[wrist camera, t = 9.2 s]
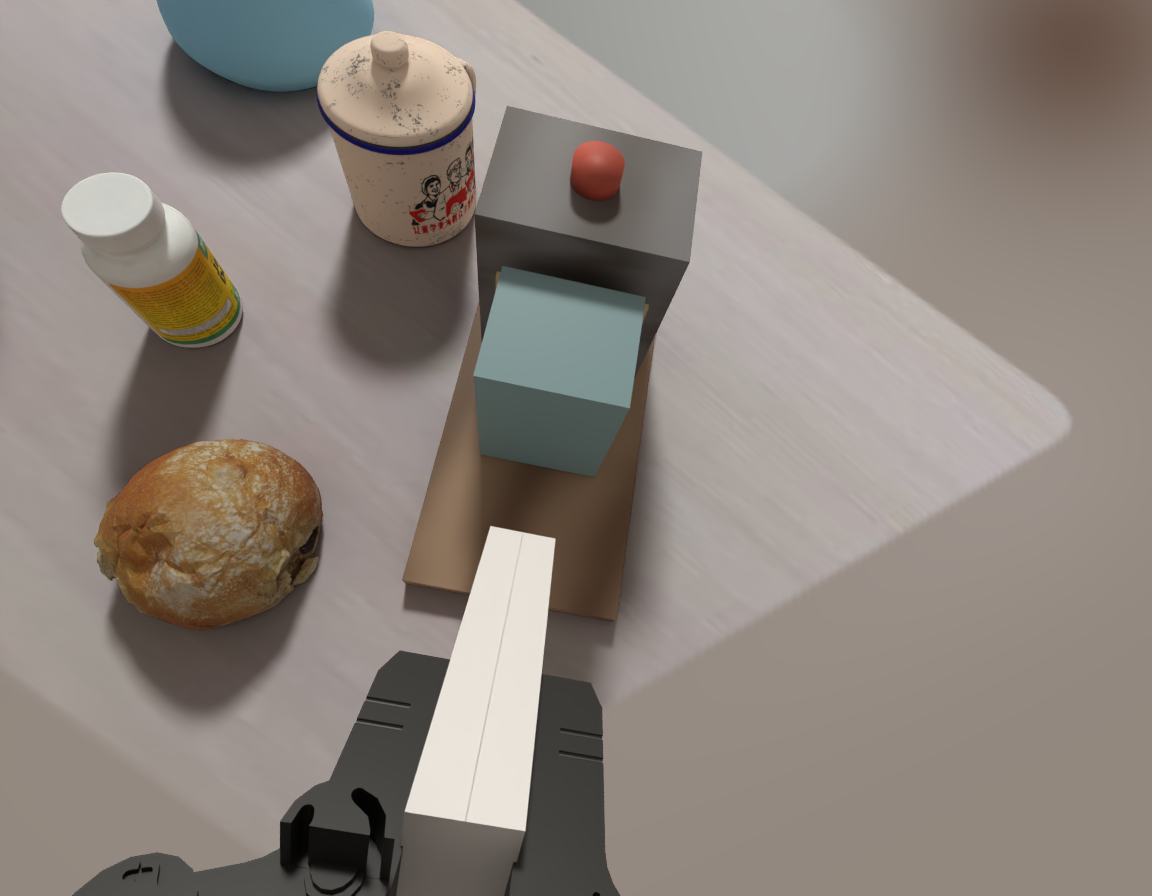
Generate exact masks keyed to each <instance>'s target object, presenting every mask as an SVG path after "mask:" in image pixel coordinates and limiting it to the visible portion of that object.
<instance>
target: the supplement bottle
mask: <svg viewBox="0 0 1152 896" xmlns="http://www.w3.org/2000/svg"><path fill="white" fill-rule="evenodd" d="M61 212H62V216H63V219H64V221H65V222H66V224H67V225H68V226H69V228H70V229H71V230H72V231H73V232H74V233H75V234H76V235H77V236H78V238H79V239H80V240H81V249H82V254H83V257H84V259H85V261H86V263H87V265H88V266H89V267H90V269H91V270H92V271H93V272H94V273H95V274H96V275H97V276H98V277H99V278H100V279H101V280H102V281H103V282H104V283H105V284H106V285H107V286H108V287H109V288H110V289H111V290H112V291H113V292H114V293H115V294H116V295H117V296H118V297H119V298H120V299H121V300H122V301H124V302H125V303H126V304H127V305H128V306H129V307H130V308H131V309H132V310H133V311H134V312H135V313H136V314H137V315H138V316H139V317H140V318H141V319H142V320H143V321H144V322H145V323H146V324H147V325H148V326H149V327H150V329H152V330H153V331H154V332H155V333H156V334H157V335H158V336H159V337H161V338H162V339H163V340H165V341H166V342H168V343H171V344H173V345H175V346H180V347H189V348H198V347H206V346H210V345H213V344H215V343H218V342H220V341H222V340H223V339H225V338H226V337H228V336H229V335H230V334H231V333H232V332H233V331H234V330H235V328H236V327H237V326H238V324H239V322H240V319H241V316H242V311H243V308H242V300H241V297H240V295H239V293H238V291H237V290H236V288H235V287H234V285H233V284H232V282H231V281H230V280H229V278H228V277H227V275H226V274H225V272H224V271H223V270H222V268H221V267H220V265H219V264H218V262H217V261H216V259H215V258H214V256H213V255H212V253H211V252H210V251H209V249H208V247H207V246H206V245H205V243H204V242H203V240H202V239H201V237H200V236H199V234H198V233H197V231H196V230H195V229H194V227H193V226H192V224H191V223H190V222H189V221H188V219H187V218H186V217H185V216H184V215H183V214H181V213H180V212H179V211H177V210H176V209H174V208H173V207H171V206H168V205H166V204H163V203H161V202H160V200H159V199H158V198H157V197H156V196H155V194H154V193H153V192H152V191H151V189H150V188H149V187H148V186H147V185H146V184H145V183H144V182H143V181H141V180H140V179H138V178H136V177H134V176H132V175H128V174H124V173H114V172H111V173H102V174H97V175H94V176H91V177H89V178H86V179H84V180H82V181H80V182H79V183H77V184H76V185H74V186H73V187H72V188H71V189H70V190H69V191H68V193H67V194H66V196H65V197H64V199H63V202H62V207H61Z"/></svg>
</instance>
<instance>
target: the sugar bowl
mask: <svg viewBox="0 0 1152 896" xmlns="http://www.w3.org/2000/svg"><path fill="white" fill-rule="evenodd" d="M157 3H158V7H159V10H160V12H161V15H162V17H163V20H164V22H165V24H166V26H167V28H168V30H169V32H170V34H171V36H172V37H173V39H174V40H175V41H176V43H177V44H178V45H179V46H180V47H181V48H182V49H183V50H184V51H185V52H186V53H187V54H188V55H189V56H190V57H191V58H193V59H194V60H195V61H196V62H198V63H199V64H201V65H202V66H204V67H206V68H207V69H209V70H211V71H212V72H214V73H216V74H218V75H220V76H222V77H224V78H226V79H228V80H230V81H233V82H235V83H237V84H240V85H243V86H246V87H249V88H253V89H258V90H264V91H275V92H287V91H297V90H304V89H308V88H312V87H316V86H317V85H318V78H319V75H320V72H321V70H322V68H323V66H324V64H325V62H326V61H327V60H328V58H329V57H330V56H331V55H332V54H333V53H334V52H335V51H336V50H338V49H339V48H340V47H342V46H344V45H345V44H347V43H349V42H351V41H354V40H356V39H359V38H362V37H366V36H370V35H371V31H372V27H373V21H374V9H373V3H372V0H157Z"/></svg>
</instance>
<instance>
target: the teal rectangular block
mask: <svg viewBox="0 0 1152 896" xmlns="http://www.w3.org/2000/svg"><path fill="white" fill-rule="evenodd" d="M645 300H646V297H643V296H638V295H634V294H629V293H624V292H620V291H615V290H611V289H606V288H602V287H597V286H592V285H588V284H583V283H579V282H574V281H570V280H565V279H560V278H556V277H551V276H547V275H542V274H538V273H533V272H528V271H524V270H519V269H515V268H510V267H506V266H502V269H501V273H500V277H499V280H498V284H497V288H496V292H495V295H494V299H493V303H492V307H491V311H490V314H489V318H488V322H487V326H486V330H485V333H484V337H483V341H482V345H481V348H480V352H479V356H478V360H477V364H476V367H475V371H474V375H473V378H474V390H475V401H476V413H477V424H478V436H479V447H480V454H481V455H486V456H491V457H496V458H501V459H506V460H511V461H516V462H521V463H526V464H531V465H536V466H541V467H546V468H551V469H556V470H561V471H566V472H571V473H576V474H581V475H586V476H591V477H595V476H596V474H597V472H598V470H599V468H600V466H601V464H602V462H603V460H604V458H605V456H606V454H607V452H608V450H609V448H610V446H611V444H612V442H613V440H614V438H615V436H616V434H617V432H618V431H619V429H620V427H621V425H622V423H623V421H624V419H625V417H626V415H627V413H628V411H629V409H630V404H631V397H632V390H633V383H634V376H635V369H636V362H637V355H638V348H639V342H640V335H641V328H642V321H643V314H644V307H645Z"/></svg>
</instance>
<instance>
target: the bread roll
mask: <svg viewBox="0 0 1152 896" xmlns="http://www.w3.org/2000/svg"><path fill="white" fill-rule="evenodd" d="M322 517H323V513H322V503H321V496H320V492H319V489H318V487H317V485H316V484H315V482H314V480H313V478H312V477H311V476H310V474H309V473H308V472H307V470H306V469H305V468H304V467H303V466H302V465H301V464H300V463H298V462H297V461H296V460H294V459H293V458H291V457H289V456H288V455H286V454H284V453H283V452H281V451H279V450H277V449H275V448H273V447H270V446H268V445H266V444H262V443H258V442H254V441H248V440H242V439H241V440H233V439H225V440H216V441H199V442H195V443H192V444H189V445H186V446H183V447H179V448H177V449H175V450H173V451H171V452H169V453H167V454H165V455H163V456H161V457H159V458H157V459H155V460H153V461H152V462H150V463H148V464H147V465H145V466H144V467H143V468H142V469H141V468H140V470H139V471H138V472H137V473H136V474H135V475H134V476H133V477H132V478H131V479H130V481H129V482H128V483H127V485H126V486H125V487H124V488H123V490H122V491H121V492H119V494H118V495H117V496H116V497H115V498H113V499H112V500H110V501H108V502H107V507H106V511H105V514H104V518H103V519H102V521H101V524H100V526H99V532H98V534H97V536H96V537H95V539H94V544H95V546H96V547H99V550H100V551H99V552H98V554H97V563H98V564H99V566H100V571H101V572H102V574H104V575H105V576H106V577H107V578H108V579H109V580H111V581H112V579H113V578H117V579H116V580H117V583H118V586H119V588H120V590H121V592H122V594H123V595H124V597H125V598H126V600H127V601H128V603H129V604H133V605H134V606H135V607H136V609H137V610H138V611H139V612H140V613H143V614H147V615H150V616H154V617H157V618H159V619H160V620H162V621H165V622H168V623H170V624H173V625H176V626H180V627H183V628H186V629H198V630H202V629H212V628H215V627H219V626H223V625H227V624H229V623H236V622H237V621H240V620H243V619H246V618H248V617H250V616H253V615H256V614H259V613H262V612H264V611H266V610H268V609H270V608H272V607H274V606H276V605H277V604H278V603H279V602H280V601H281V600H282V599H283V598H284V597H285V596H286V595H287V594H288V593H290V592H291V591H292V590H293V589H294V585H296V584H302V583H304V582H306V581H307V580H308V578H309V577H310V575H311V574H312V573H313V571H314V570H315V569H316V566H317V562H318V558H319V557H318V556H314V551H315V548H316V546H317V542H318V537H319V532H320V528H321V519H322Z"/></svg>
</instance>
